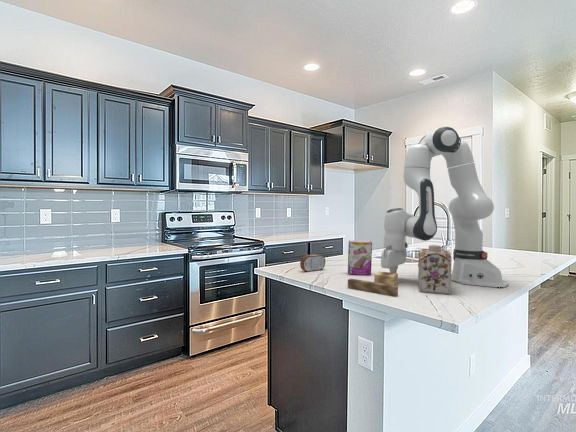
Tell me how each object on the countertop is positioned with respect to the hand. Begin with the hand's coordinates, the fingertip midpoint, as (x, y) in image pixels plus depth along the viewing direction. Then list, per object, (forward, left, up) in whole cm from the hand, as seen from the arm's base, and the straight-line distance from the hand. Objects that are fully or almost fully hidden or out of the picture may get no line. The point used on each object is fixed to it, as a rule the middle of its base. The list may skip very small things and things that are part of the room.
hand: (393, 275), depth 151 cm
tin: (+41, +3, -3) cm, 41 cm away
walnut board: (0, +22, -3) cm, 23 cm away
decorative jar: (-18, +3, -3) cm, 19 cm away
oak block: (0, +8, -3) cm, 9 cm away
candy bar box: (+19, -5, -3) cm, 20 cm away
